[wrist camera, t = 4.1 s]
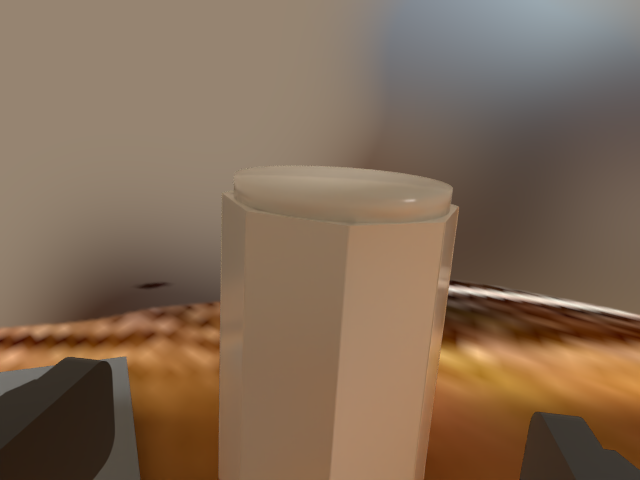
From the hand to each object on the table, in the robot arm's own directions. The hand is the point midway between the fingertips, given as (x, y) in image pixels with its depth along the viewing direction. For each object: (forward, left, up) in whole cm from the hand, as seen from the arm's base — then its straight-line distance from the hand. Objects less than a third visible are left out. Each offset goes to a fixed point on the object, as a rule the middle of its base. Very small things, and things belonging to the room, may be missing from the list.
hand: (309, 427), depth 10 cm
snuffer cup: (-3, -5, -6) cm, 8 cm away
